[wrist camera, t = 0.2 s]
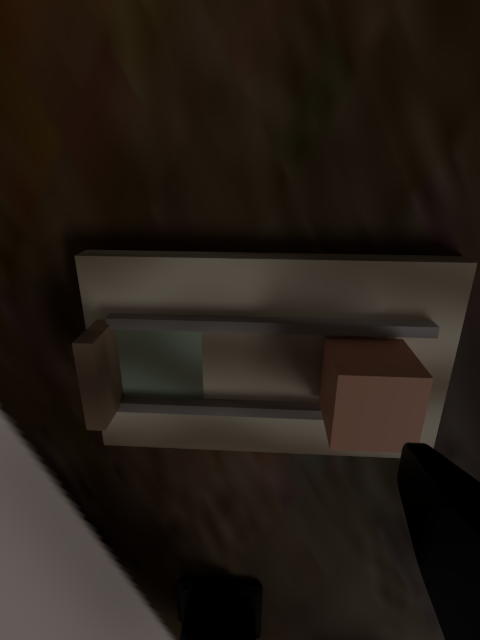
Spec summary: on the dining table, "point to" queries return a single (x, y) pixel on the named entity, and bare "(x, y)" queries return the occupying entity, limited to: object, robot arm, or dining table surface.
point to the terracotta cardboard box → (372, 394)
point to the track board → (250, 341)
